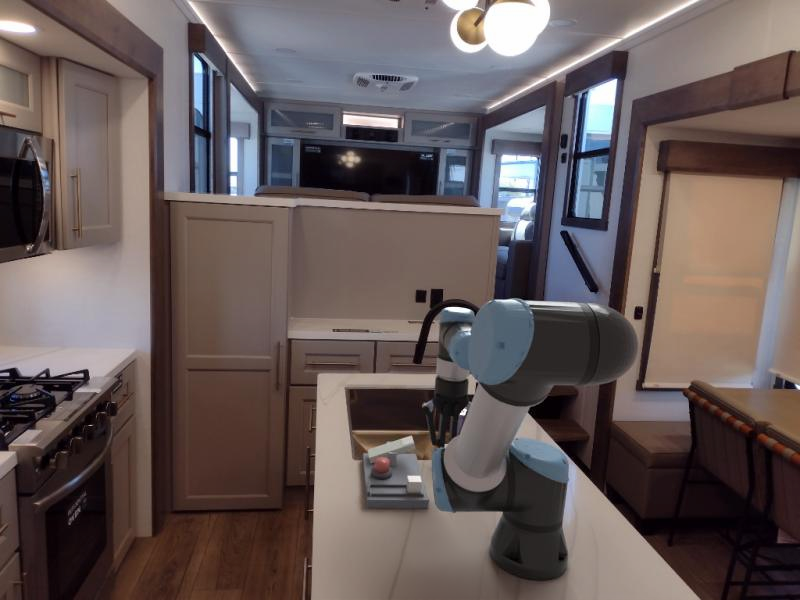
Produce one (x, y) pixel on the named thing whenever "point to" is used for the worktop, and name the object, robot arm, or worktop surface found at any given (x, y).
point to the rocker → (391, 448)
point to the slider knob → (414, 484)
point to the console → (393, 483)
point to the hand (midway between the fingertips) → (444, 472)
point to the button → (381, 465)
